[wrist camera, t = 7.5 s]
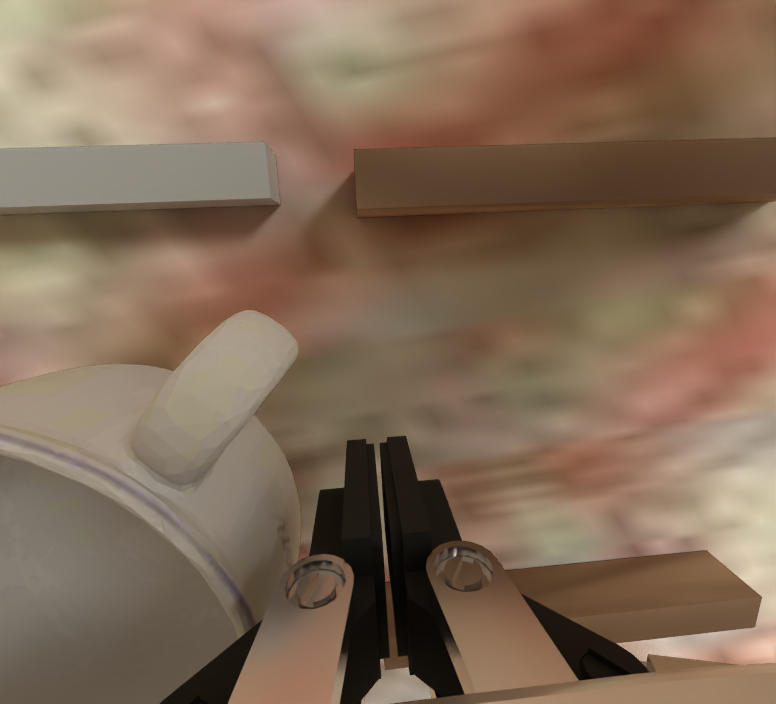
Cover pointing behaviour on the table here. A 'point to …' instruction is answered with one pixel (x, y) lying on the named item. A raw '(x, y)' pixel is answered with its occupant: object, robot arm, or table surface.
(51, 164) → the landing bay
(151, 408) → the teacup
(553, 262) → the table surface
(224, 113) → the table surface
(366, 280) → the table surface
